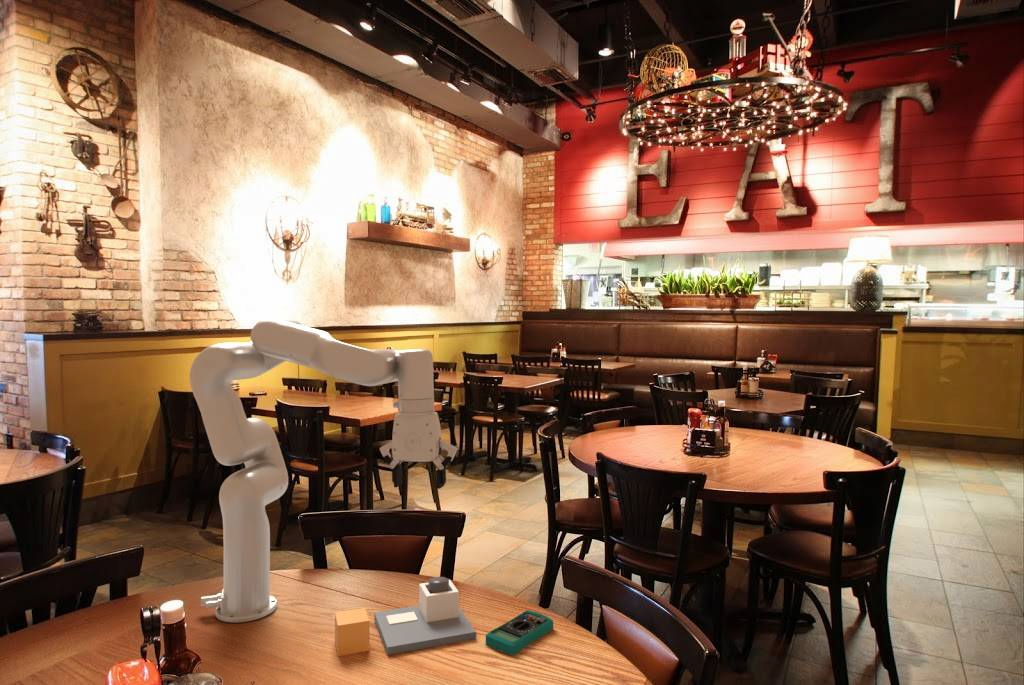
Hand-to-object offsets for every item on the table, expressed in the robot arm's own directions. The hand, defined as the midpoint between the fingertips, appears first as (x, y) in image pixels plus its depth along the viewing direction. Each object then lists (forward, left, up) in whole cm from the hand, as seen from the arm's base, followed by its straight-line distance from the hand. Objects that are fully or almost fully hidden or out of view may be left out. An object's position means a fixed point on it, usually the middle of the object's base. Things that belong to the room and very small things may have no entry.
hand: (419, 486), depth 132 cm
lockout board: (+1, -3, -30) cm, 30 cm away
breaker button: (+5, 0, -25) cm, 25 cm away
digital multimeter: (+19, -13, -30) cm, 38 cm away
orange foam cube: (-14, -5, -30) cm, 33 cm away
